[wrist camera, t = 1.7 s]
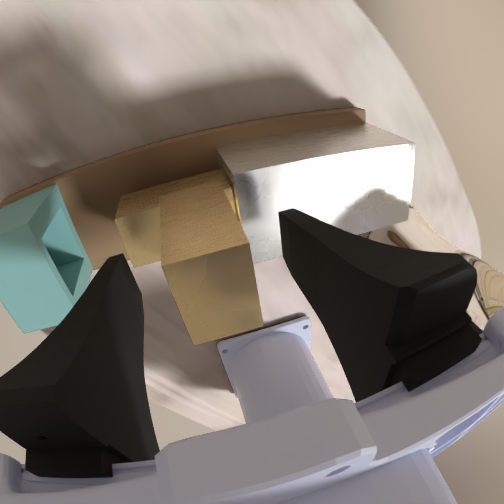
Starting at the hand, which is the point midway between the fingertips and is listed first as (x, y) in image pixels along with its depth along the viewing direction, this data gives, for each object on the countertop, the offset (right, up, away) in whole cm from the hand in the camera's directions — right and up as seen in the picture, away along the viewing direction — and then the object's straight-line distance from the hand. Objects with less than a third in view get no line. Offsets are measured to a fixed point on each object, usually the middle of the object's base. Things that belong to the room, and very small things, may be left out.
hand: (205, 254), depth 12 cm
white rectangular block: (+4, +5, +6) cm, 9 cm away
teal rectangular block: (-10, +1, +4) cm, 11 cm away
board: (-2, +4, +6) cm, 7 cm away
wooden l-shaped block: (+2, +3, +4) cm, 6 cm away
